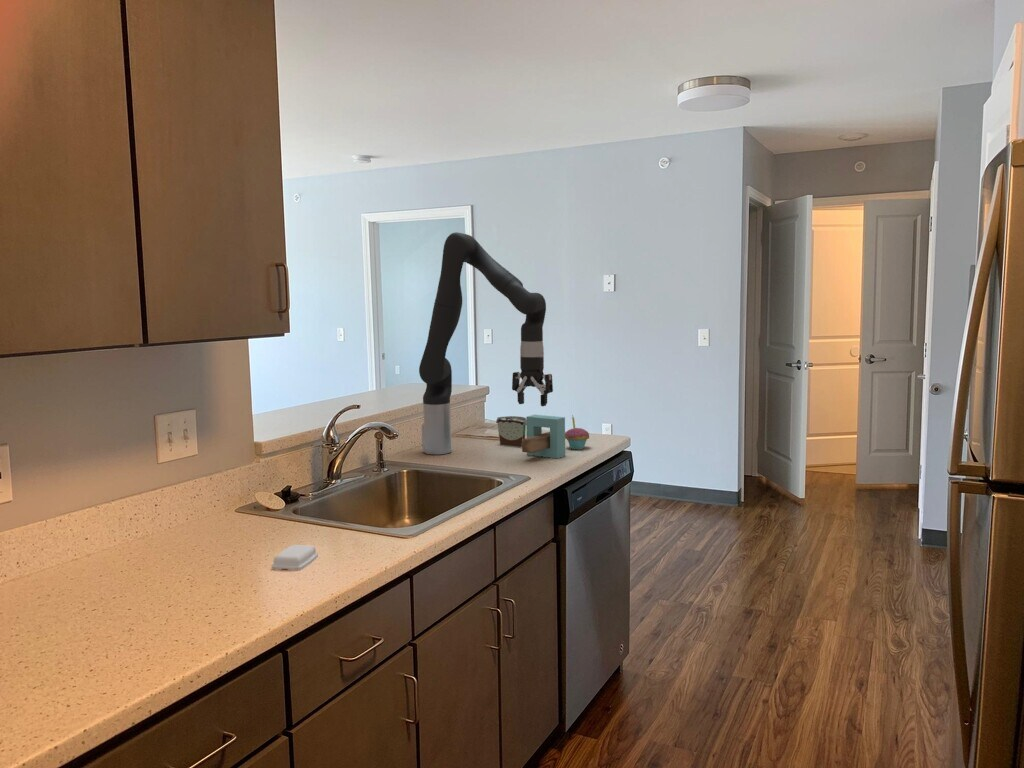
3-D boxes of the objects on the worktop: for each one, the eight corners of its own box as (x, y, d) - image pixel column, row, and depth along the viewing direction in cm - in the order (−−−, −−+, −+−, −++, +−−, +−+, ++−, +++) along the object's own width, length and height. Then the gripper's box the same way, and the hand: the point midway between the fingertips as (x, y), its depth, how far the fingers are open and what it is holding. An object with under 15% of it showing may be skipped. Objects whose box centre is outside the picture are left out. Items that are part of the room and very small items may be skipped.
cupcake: (577, 451, 256) (577, 417, 255) (559, 448, 263) (559, 414, 261) (594, 448, 262) (594, 414, 260) (576, 444, 268) (576, 411, 267)
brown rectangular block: (522, 451, 243) (521, 439, 243) (554, 441, 259) (554, 430, 259) (532, 453, 241) (532, 440, 240) (564, 442, 257) (564, 431, 256)
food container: (534, 445, 269) (534, 417, 268) (525, 448, 264) (525, 420, 263) (505, 441, 276) (505, 415, 275) (496, 444, 271) (495, 417, 269)
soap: (290, 555, 158) (289, 542, 158) (320, 557, 157) (319, 543, 157) (269, 571, 149) (268, 556, 149) (300, 572, 148) (300, 558, 148)
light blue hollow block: (527, 454, 253) (526, 416, 251) (535, 452, 257) (534, 414, 255) (557, 458, 246) (557, 419, 244) (565, 455, 250) (564, 417, 248)
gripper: (507, 355, 242) (507, 404, 244) (544, 356, 234) (544, 408, 236) (520, 353, 248) (520, 402, 250) (557, 355, 240) (557, 405, 242)
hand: (532, 405), depth 243 cm, fingers open, 8 cm apart
